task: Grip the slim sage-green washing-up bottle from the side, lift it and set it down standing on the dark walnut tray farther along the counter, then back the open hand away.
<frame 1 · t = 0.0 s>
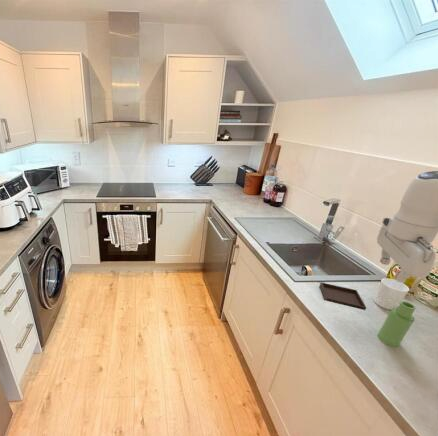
hand: (390, 271, 70), 28 cm above the worktop, tool pointing down, fingers open, 8 cm apart
tray: (340, 298, 100), on the worktop
white cup: (384, 304, 97), on the worktop
soap bottle: (385, 343, 80), on the worktop
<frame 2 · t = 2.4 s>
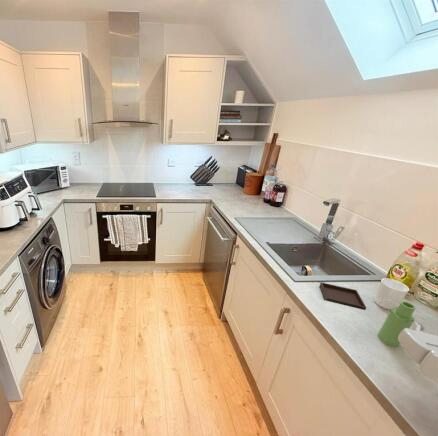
nothing on the worktop moved.
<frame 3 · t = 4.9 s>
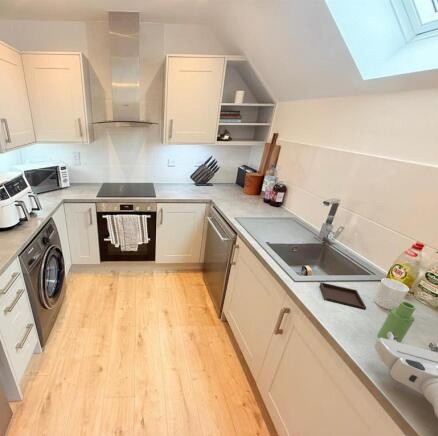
hand: (411, 339, 70), 10 cm above the worktop, tool horizontal, fingers open, 8 cm apart
nothing on the worktop moved.
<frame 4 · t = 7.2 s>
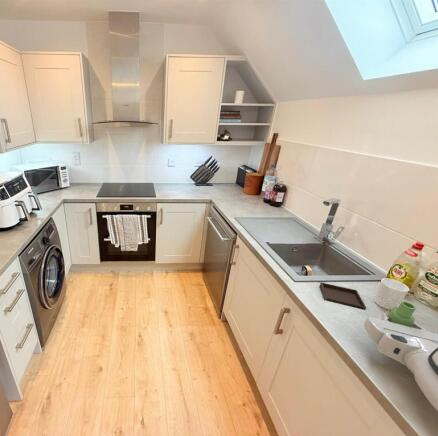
hand: (397, 319, 77), 10 cm above the worktop, tool horizontal, fingers closed on soap bottle, 5 cm apart
soap bottle: (385, 343, 80), on the worktop, touching gripper
everything else where it was.
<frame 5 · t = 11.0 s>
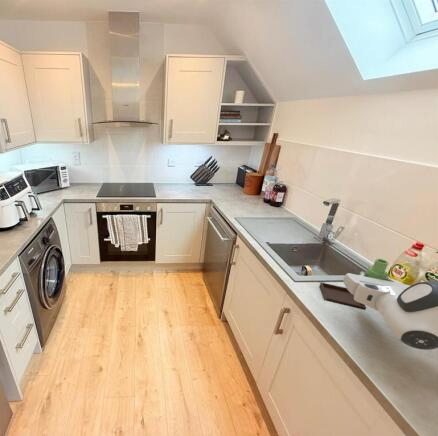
hand: (373, 275, 85), 18 cm above the worktop, tool horizontal, fingers closed on soap bottle, 5 cm apart
soap bottle: (363, 299, 88), point 8 cm above the worktop, touching gripper
everything else where it was.
when the fingers open (11 cm above the worktop, at t = 14.9 s): soap bottle stays where it is, resting on tray.
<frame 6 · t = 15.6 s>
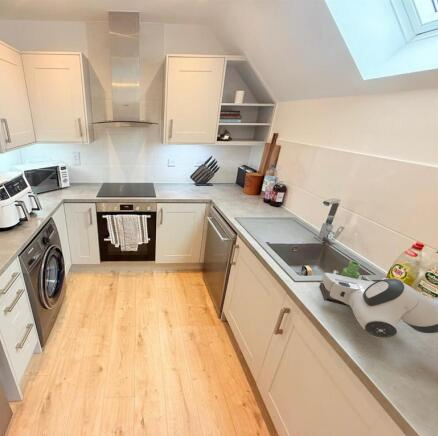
hand: (349, 274, 96), 12 cm above the worktop, tool horizontal, fingers open, 8 cm apart
soap bottle: (340, 296, 99), point 1 cm above the worktop, touching tray
everything else where it was.
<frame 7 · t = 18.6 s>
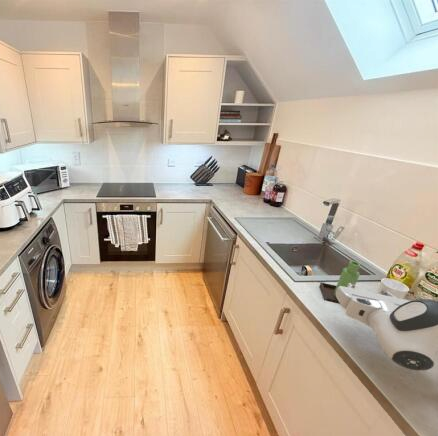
hand: (366, 288, 83), 15 cm above the worktop, tool horizontal, fingers open, 8 cm apart
nothing on the worktop moved.
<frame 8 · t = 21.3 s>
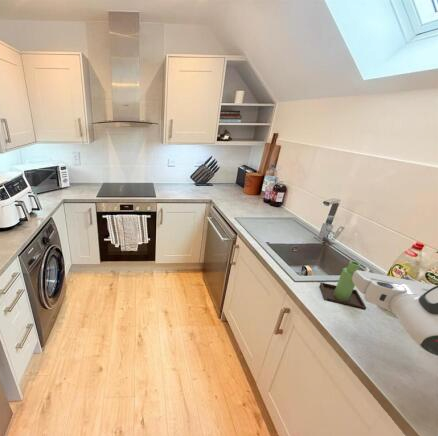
hand: (385, 272, 77), 24 cm above the worktop, tool horizontal, fingers open, 8 cm apart
nothing on the worktop moved.
at the end: soap bottle inside the target area in the tray (0.1 cm from its centre), point 0.8 cm above the tray's base; soap bottle tilted 0°; the gripper is holding nothing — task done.
